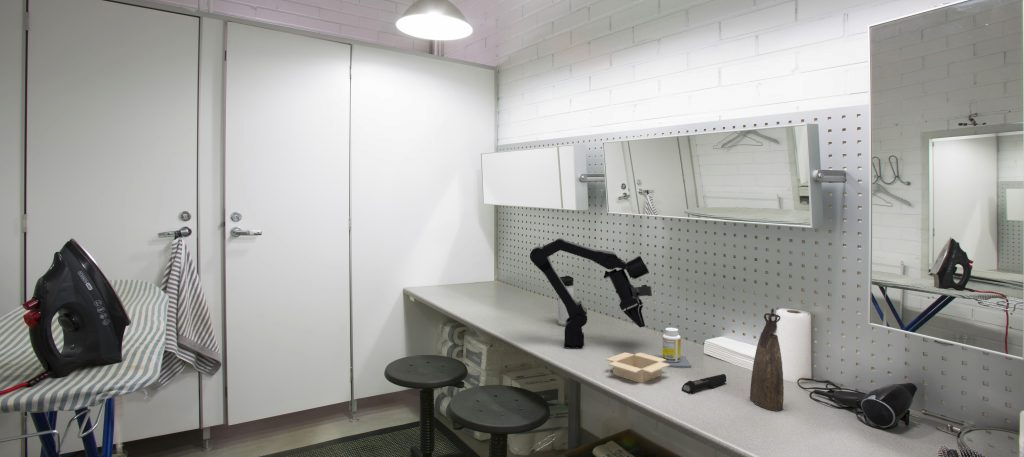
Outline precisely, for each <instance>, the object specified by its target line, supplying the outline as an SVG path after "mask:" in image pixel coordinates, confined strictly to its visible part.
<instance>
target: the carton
mask: <svg viewBox="0 0 1024 457" xmlns="http://www.w3.org/2000/svg"><path fill="white" fill-rule="evenodd" d="M606 361H608V362H609V363H608V364H607V365H608V366H610V367H613V375H614V376H617V377H621V378H625V379H628V380H631V381H634V382H637V383H640V384H643V383H646V382H648V381H650V380H653V379H654V378H657V377H659V376H661V375H662V370H663V369H665V368H669V367H668V366H670V364H667V363H663V362H665V361H666V359H663V358H659V357H655V356H654V355H650V354H647V353H643V352H637V353H634V354H633V353H629V352H625V351H624V352H622V353H619V354H617V355H614V356H610V357H609V358H606Z"/></svg>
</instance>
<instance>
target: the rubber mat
mask: <svg viewBox="0 0 1024 457" xmlns="http://www.w3.org/2000/svg"><path fill="white" fill-rule="evenodd" d="M653 356H655V357H659V358H663V354H662V355H661V354H660V355H659V354H654V355H653ZM663 363H667V364H670V366H668V367H667V368H678V369H679V368H680V369H681V368H684V369H691V368H692V366H691V363H690V362H689V360H688V359H687V356H685V355H681V360H680V361H679V362H674V363H673V362H667V361H665V362H663Z"/></svg>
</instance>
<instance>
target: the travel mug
mask: <svg viewBox="0 0 1024 457" xmlns="http://www.w3.org/2000/svg"><path fill="white" fill-rule="evenodd" d="M559 277H560V279H561V280H562V282H563V283H564V285H565V286H566V288H567V289H568V291H569V292H570V294H571V295H572V297H573V298H574V297H575V296H574V290H575V289H574V277H572V276H571V275H564V276H559ZM557 298H558V299H557V302H558V306H557V308H558V309H557V310H558V312H557V314H558V315H557V316H558V323H557V324H558V325H559V326H560V327H565V321H566V320H567V319H568V318H569V315H568V312H567V310H566V307H565V305H564V303H563V302H562V300H561V299H560V297H559V296H558V295H557ZM574 299H575V298H574Z"/></svg>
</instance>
